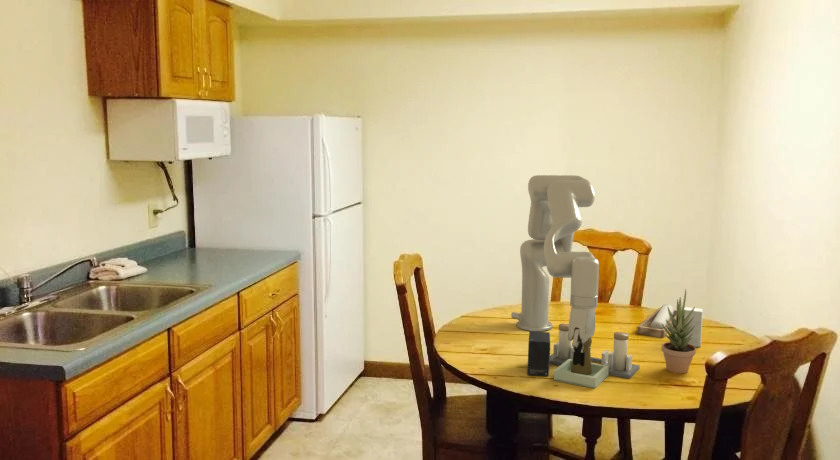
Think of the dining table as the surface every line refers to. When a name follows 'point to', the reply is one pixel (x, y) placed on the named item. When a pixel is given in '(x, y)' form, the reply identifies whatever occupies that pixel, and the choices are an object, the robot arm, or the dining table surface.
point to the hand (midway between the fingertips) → (581, 362)
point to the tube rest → (646, 330)
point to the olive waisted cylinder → (587, 366)
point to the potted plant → (678, 341)
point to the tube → (662, 317)
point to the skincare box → (698, 326)
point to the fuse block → (615, 360)
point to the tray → (590, 381)
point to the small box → (538, 353)
